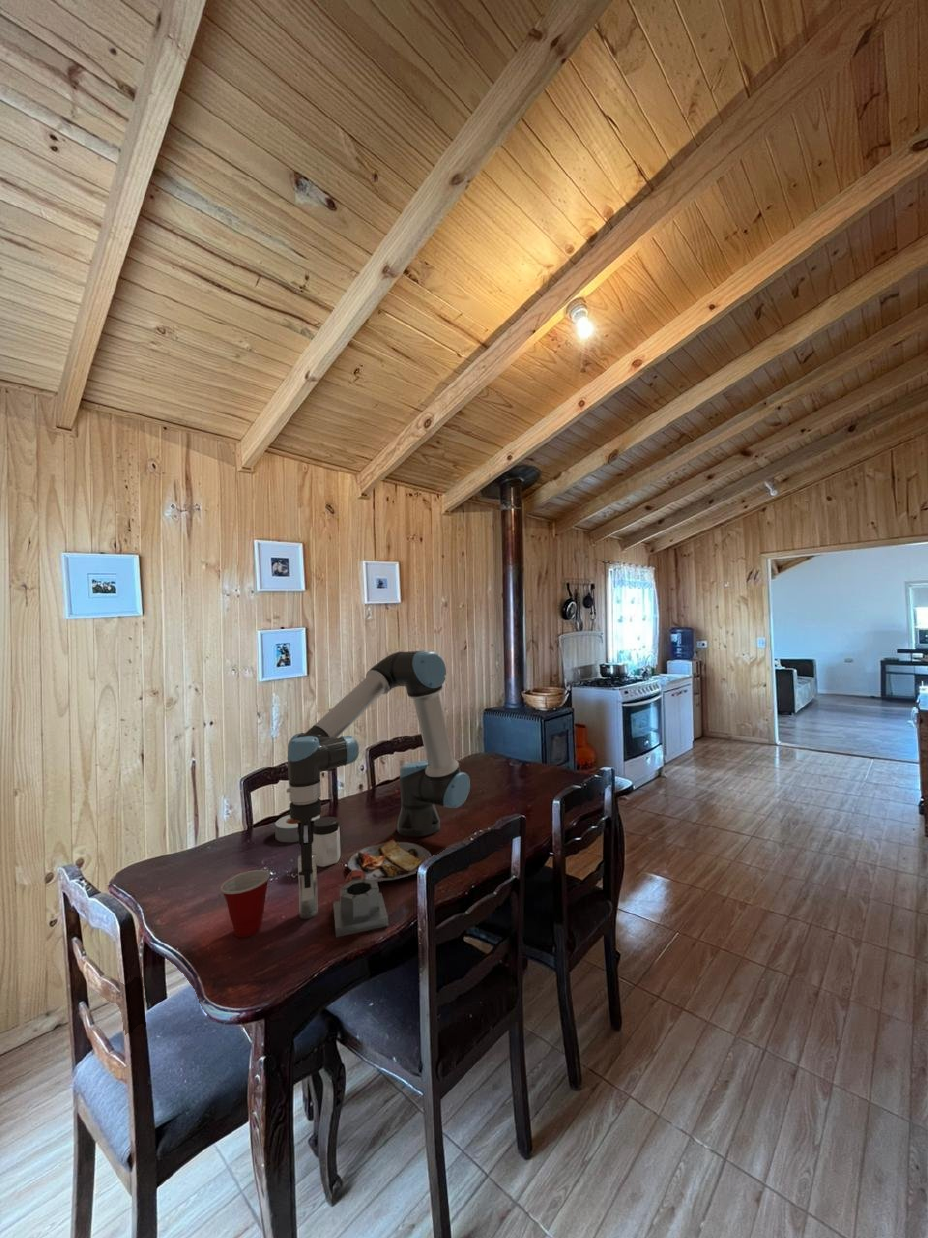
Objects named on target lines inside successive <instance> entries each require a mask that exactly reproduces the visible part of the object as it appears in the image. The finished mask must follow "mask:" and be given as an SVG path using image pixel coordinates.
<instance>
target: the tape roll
mask: <svg viewBox="0 0 928 1238" xmlns="http://www.w3.org/2000/svg"><path fill="white" fill-rule="evenodd" d="M319 818H321V817H320V815H318V816H317V817H315V818H312V820H311V821H313V820H316V819H319ZM299 822H301V821H299V820H293V819H291V818H290V814H288V815H285V816H282V817H280V818H279V819H278V820H276V822H275V823H274V833H275V834H274V835H275V836H274V837H275V839H276V840H277V841H278V842H282V843H296V842H299V834H298V823H299Z"/></svg>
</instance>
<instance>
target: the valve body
mask: <svg viewBox="0 0 928 1238" xmlns="http://www.w3.org/2000/svg"><path fill="white" fill-rule="evenodd" d="M345 879H346V880H345V883H346V884H344V885H342V886H341V887H340V888H339V900H338V901H333V903H332V904H333V918H334V919H333V920H334V929H335V938H340V937H344V936H349V935H353V934H359V933H363V932H367V931H372V930H377V929H381V928H385V927H389V916H388V913H387V911H388V910H387V908H386V905H385V901H384V898H383V894H382V892H380V889H379V885H378V882H377V881H373V880H369V879H366V877H365V874H364V872H363V871H361V870H353V871H351V870H350V872H349V873H348V875H347V876H346V878H345Z"/></svg>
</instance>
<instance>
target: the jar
mask: <svg viewBox="0 0 928 1238" xmlns="http://www.w3.org/2000/svg"><path fill="white" fill-rule="evenodd" d="M340 833H341V831H340V822H339V818H338V817H336V816H323V817H320V818H319V819H316V820H314V832H313V839H314V841H313V843H312V852H313V853H315V854H316V866H317V867H322V868H325V867H327V866H331V865H333V864H338V862H339V860H340V857H341V856H342V855H341V835H340Z"/></svg>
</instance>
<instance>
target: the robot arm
mask: <svg viewBox="0 0 928 1238" xmlns="http://www.w3.org/2000/svg"><path fill="white" fill-rule="evenodd" d="M444 661H445V660H443V658H442V657H441V656H440V655H439V654H438V653H436V652H434V651H430V650H429V651H428V650H412V651H411V650H409V651H396V652H393V653H391V654H389V655H388V656H386V657H384V658H382V659H381V660H380V661H378V662H377V663H376V664H375V665H374V666H372V668H370V669H369V670H368V671H367V672H366V673H365V678H364V679H363V680H361V682H360V683H358V684H357V685H356V686H355V687H354V688H352V690H351V691H349V693H347V694H346V695H345V696H344V697H343V698H342V699H341V700H340V701H338V703H336V705H334V706H333V707H332V708H331V709H330V710H329V711H328V712H327V713H325V715H324V716H322V717H321V718H320V719H319V720H318V721H317V722H316V723H314V725H312V727H310V728H309V729H308V730H307V731H306V732H299V733H296V734H294V735H293V736H292V737H290V739H289V741H288V745H287V757H286V758H287V764H288V765H287V766H288V767H287V770H288V771H287V772H288V788H286V793H287V794H289V795H288V796H289V801H290V803H289V815H290V818H291V819H293V820H299V821H301V822H299V823H298V834H299V841H298V844H299V846H300V855H301V867H302V871H301V872H299V875H301V876H302V901H306V900H311V899H314V886H313V869H312V853H313V852H312V843H313V841H314V839H313V832H314V820H313V821H311V820H312V818H315V817H317V816H318V815H319V816H320V814H321V813H322V800H321V796H322V795H321V794H322V793H321V792H322V791H321V790H322V789H321V788H322V787H321V773H322V772H325V771H329V770H332V769H337V768H340V767H344V766H347V765H350V764H352V763H354V762H355V761H357V759H358V757H359V754H360V750H359V748H360V747H359V744H358V742H357V739H356V738H355V737H353V736H352V735H345V736H341V735H342V734H343V733H344V732H345V731H346V730H347V729H348V728H349V727H350V726H351V725H352V724H354V722H355V721H356V720H357V719H358V718H359V717H360V716H361V715H362V714H363V713H364V712H365V711H366V710H368V709H369V707H371V706H372V704H374V703H375V701H377V699H379V698H380V697H381V696H382V695H386V694H388V693H389V692H390V691H391V690H393V689H395V688H397V687H405V689H406V695H407V697H409V698H410V699H412V700H413V703H414V709H415V712H416V716H417V721H418V726H419V730H420V734H421V739H422V742H423V747H424V752H425V757H426V760H421V761H419V760H418V761H413V762H409V763H406V764H404V765H403V766H401V768H400V773H399V775H400V776H399V783H400V784H399V786H400V802H401V810H400V812H399V817H398V820H397V824H396V825H397V827H396V828H397V832H398V834H399V835H401V836H404V837H408V838H410V837H411V838H418V837H426V836H430V835H432V834H435V833H437V832H438V831H439V830H440V828H441V820H440V817H439V814H438V812H437V809H436V806H435V805H437V806H440V807H441V806H442V807H445V808H452V809H457V808H459V807H461V806H462V805H463V804H464V803H465V802H466V800H467V797H468V795H469V793H470V789H471V781H470V776H469V775H468V774H467V773H465V772H463V771H461V768H460V763H459V762H458V761H457V760H456V759H454V757H453V752H452V747H451V743H450V739H449V733H448V730H447V726H446V719H445V714H444V711H443V707H442V702H441V697H440V696H441V695H440V693H441V691H442V689H443V686H442V685H443V684H444V682H445V681H446V675H447V667H446V663H445V662H444Z"/></svg>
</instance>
